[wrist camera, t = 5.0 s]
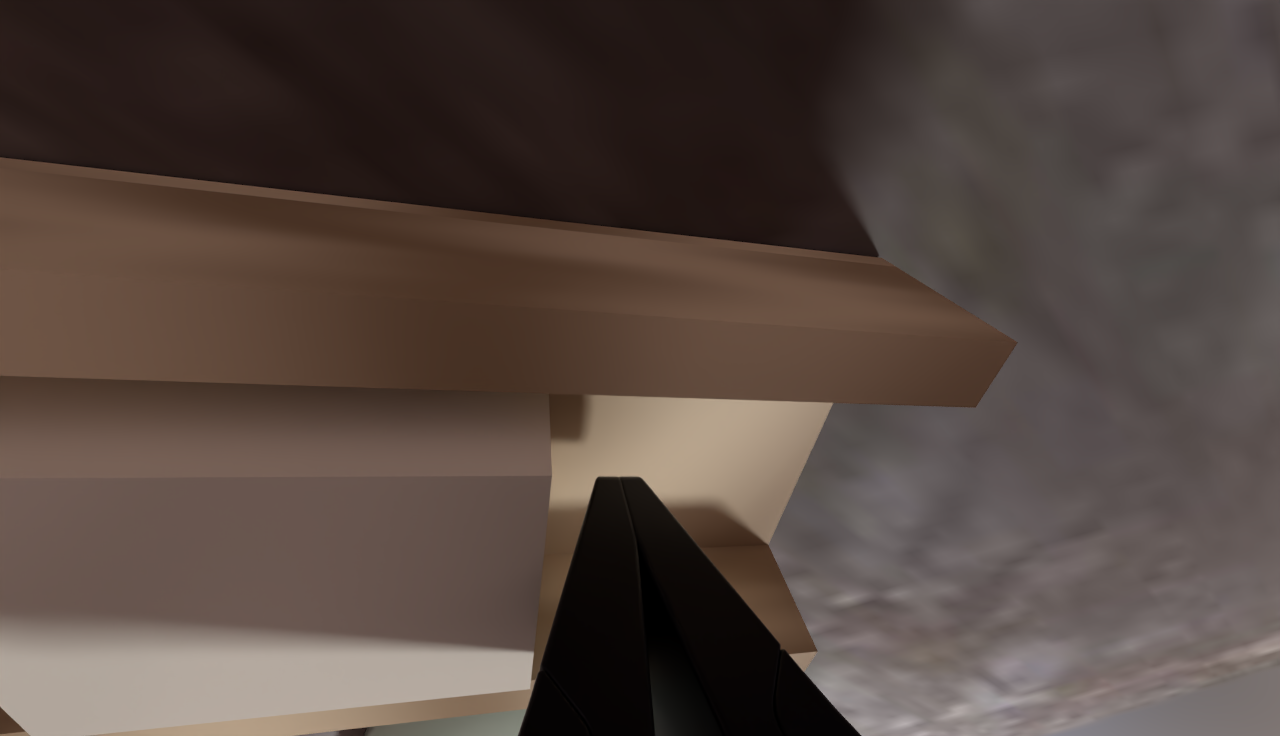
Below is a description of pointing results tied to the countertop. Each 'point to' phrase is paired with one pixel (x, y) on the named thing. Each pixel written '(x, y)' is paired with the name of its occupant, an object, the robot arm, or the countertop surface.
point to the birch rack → (489, 348)
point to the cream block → (262, 549)
